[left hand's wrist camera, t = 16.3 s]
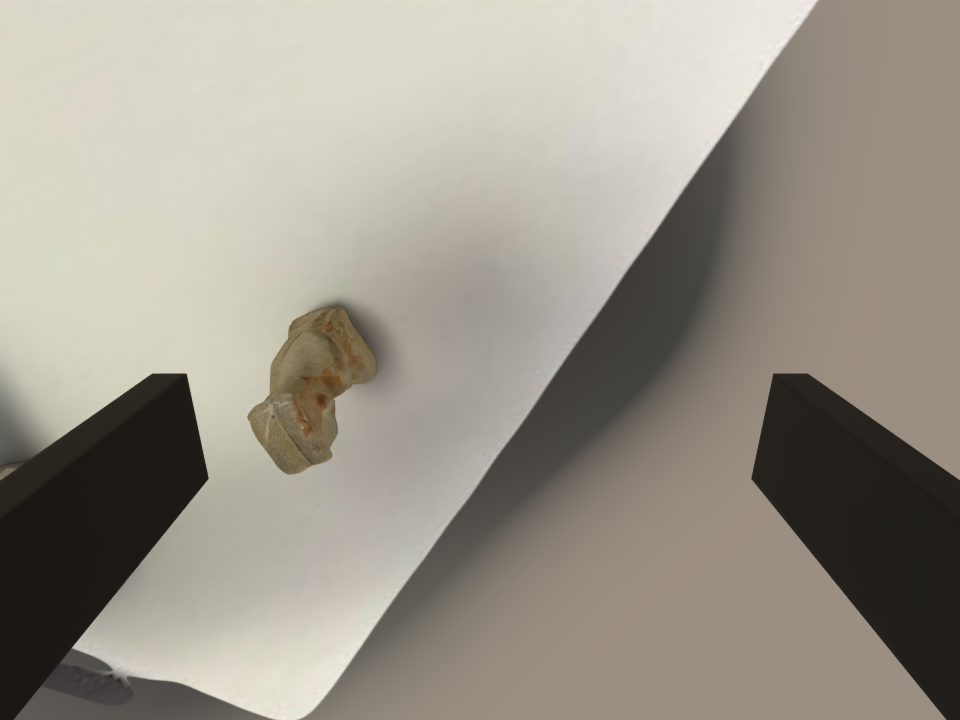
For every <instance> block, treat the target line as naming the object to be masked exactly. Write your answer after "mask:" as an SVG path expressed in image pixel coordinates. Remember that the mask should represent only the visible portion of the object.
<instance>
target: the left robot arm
mask: <svg viewBox="0 0 960 720" xmlns="http://www.w3.org/2000/svg"><path fill="white" fill-rule="evenodd" d="M208 479H209V478H208V473H207V468H206V464H205V459H204V454H203V449H202V445H201V440H200V435H199V430H198V426H197V421H196V416H195V411H194V407H193V402H192V397H191V392H190V388H189V383H188V378H187V374H151V375H150V376H148V377H147V378H145V379H144V380H143V381H141V382H140V383H138V384H137V385H135V386H134V387H133V388H131V389H130V390H128V391H127V392H125V393H124V394H123V395H121V396H120V397H118V398H117V399H115V400H114V401H113V402H111V403H110V404H108V405H107V406H105V407H104V408H103V409H101V410H100V411H98V412H97V413H95V414H94V415H93V416H91V417H90V418H88V419H87V420H86V421H84V422H83V423H81V424H80V425H78V426H77V427H76V428H74V429H73V430H71V431H70V432H68V433H67V434H66V435H64V436H63V437H61V438H60V439H58V440H57V441H56V442H54V443H53V444H51V445H50V446H48V447H47V448H46V449H44V450H43V451H41V452H40V453H39V454H37V455H36V456H34V457H33V458H31V459H30V460H29V461H27V462H18V463H12V464H8V465H5V466H2V467H0V720H14V718H15V717H16V716H17V715H18V714H19V712H20V711H21V710H22V709H23V707H24V706H25V705H26V704H27V702H28V701H29V700H30V699H31V698H32V696H33V695H34V694H35V693H36V691H37V690H38V689H39V688H40V686H41V685H42V684H43V683H44V681H45V680H46V679H47V678H48V677H49V675H50V674H51V673H52V672H53V670H54V669H55V668H56V667H57V665H58V664H59V663H60V662H61V660H62V659H63V658H64V657H65V656H66V654H67V653H68V652H69V651H70V649H71V648H72V647H73V646H74V644H75V643H76V642H77V641H78V639H79V638H80V637H81V636H82V635H83V633H84V632H85V631H86V630H87V628H88V627H89V626H90V625H91V623H92V622H93V621H94V620H95V618H96V617H97V616H98V615H99V614H100V612H101V611H102V610H103V609H104V607H105V606H106V605H107V604H108V602H109V601H110V600H111V599H112V597H113V596H114V595H115V594H116V593H117V591H118V590H119V589H120V588H121V586H122V585H123V584H124V583H125V581H126V580H127V579H128V578H129V576H130V575H131V574H132V573H133V572H134V570H135V569H136V568H137V567H138V565H139V564H140V563H141V562H142V560H143V559H144V558H145V557H146V555H147V554H148V553H149V552H150V551H151V549H152V548H153V547H154V546H155V544H156V543H157V542H158V541H159V539H160V538H161V537H162V536H163V534H164V533H165V532H166V531H167V530H168V528H169V527H170V526H171V525H172V523H173V522H174V521H175V520H176V518H177V517H178V516H179V515H180V514H181V512H182V511H183V510H184V509H185V507H186V506H187V505H188V504H189V502H190V501H191V500H192V499H193V497H194V496H195V495H196V494H197V493H198V491H199V490H200V489H201V488H202V486H203V485H204V484H205V483H206V481H207V480H208ZM751 479H752V480H753V481H754V483H755V484H756V485H757V486H758V488H759V489H760V490H761V491H762V492H763V494H764V495H765V496H766V497H767V499H768V500H769V501H770V502H771V503H772V505H773V506H774V507H775V509H776V510H777V511H778V512H779V514H780V515H781V516H782V517H783V518H784V520H785V521H786V522H787V523H788V525H789V526H790V527H791V528H792V530H793V531H794V532H795V533H796V534H797V536H798V537H799V538H800V539H801V541H802V542H803V543H804V544H805V546H806V547H807V548H808V549H809V551H810V552H811V553H812V554H813V555H814V557H815V558H816V559H817V560H818V562H819V563H820V564H821V565H822V567H823V568H824V569H825V570H826V572H827V573H828V574H829V575H830V576H831V578H832V579H833V580H834V581H835V583H836V584H837V585H838V586H839V588H840V589H841V590H842V591H843V593H844V594H845V595H846V596H847V597H848V599H849V600H850V601H851V602H852V604H853V605H854V606H855V607H856V609H857V610H858V611H859V612H860V614H861V615H862V616H863V617H864V618H865V620H866V621H867V622H868V623H869V625H870V626H871V627H872V628H873V630H874V631H875V632H876V633H877V634H878V636H879V637H880V638H881V639H882V641H883V642H884V643H885V644H886V646H887V647H888V648H889V649H890V651H891V652H892V653H893V654H894V655H895V657H896V658H897V659H898V660H899V662H900V663H901V664H902V665H903V667H904V668H905V669H906V670H907V672H908V673H909V674H910V675H911V677H912V678H913V679H914V680H915V681H916V683H917V684H918V685H919V686H920V688H921V689H922V690H923V691H924V692H925V694H926V695H927V696H928V697H929V699H930V700H931V701H932V702H933V704H934V705H935V706H936V707H937V709H938V710H939V711H940V712H941V714H942V715H943V716H944V717H945V719H946V720H960V480H958V479H957V478H956V477H954V476H953V475H951V474H950V473H949V472H947V471H946V470H944V469H943V468H941V467H940V466H939V465H937V464H936V463H934V462H933V461H931V460H930V459H929V458H927V457H926V456H924V455H923V454H921V453H920V452H919V451H917V450H916V449H914V448H913V447H912V446H910V445H909V444H907V443H906V442H904V441H903V440H902V439H900V438H899V437H897V436H896V435H894V434H893V433H892V432H890V431H889V430H887V429H886V428H884V427H883V426H882V425H880V424H879V423H877V422H876V421H874V420H873V419H872V418H870V417H869V416H867V415H866V414H865V413H863V412H862V411H860V410H859V409H857V408H856V407H855V406H853V405H852V404H850V403H849V402H847V401H846V400H845V399H843V398H842V397H840V396H839V395H837V394H836V393H835V392H833V391H832V390H830V389H829V388H827V387H826V386H825V385H823V384H822V383H820V382H819V381H817V380H816V379H815V378H813V377H812V376H810V375H809V374H773V378H772V383H771V388H770V392H769V397H768V402H767V407H766V411H765V416H764V421H763V426H762V430H761V435H760V440H759V445H758V449H757V454H756V459H755V464H754V468H753V473H752V478H751Z"/></svg>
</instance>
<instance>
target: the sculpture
mask: <svg viewBox="0 0 960 720" xmlns="http://www.w3.org/2000/svg"><path fill="white" fill-rule="evenodd" d="M376 372H377V366H376V361H375V358H374V356H373V354H372V352H371V350H370V349H369V347H368V346H367V344H366V343H365V341H364V340H363V339H362V337H361V336H360V334H359V333H358V332H357V331H356V329H355V328H354V327H353V325H352V324H351V322H350V320H349V318H348V314H347V312H346V311H345V310H344V309H343V308H342V307H336V308H329V307H325V308H321V309H318V310H315V311H312V312H310V313H307V314H305V315H303V316H301V317H299V318H297V319H295V320H294V321H293V322H292V324H291V325H290V327H289V332H288V340H287V341H286V342H285V343H284V345H283V346H282V348H281V349H280V351H279V352H278V354H277V355H276V357H275V359H274V360H273V362H272V364H271V370H270V395H269V396H268V397H267V398H266V400H265V401H264V402H262V403H260V404H258V405H256V406H255V407H254V408H253V409H252V410H251V411H250V413H249V414H248V420H249V421H250V424H251V428H252V430H253V432H254V434H255V436H256V438H257V439H258V441H259V442H260V444H261V445H262V446H263V448H264V449H265V450H266V451H267V453H268V454H269V455H270V457H271V458H272V460H273V461H274V462H275V464H276V465H277V467H278V468H279V469H280V470H282V471H283V472H284V473H286V474H289V475H290V474H297V473H300V472H302V471H304V470H305V469H307V468H308V467H310V466H312V465H316V464H320V463H323V462H327V461H328V460H330V459H331V458H332V453H331V450H330V447H331V445H332V443H333V441H334V440H335V438H336V436H337V434H338V427H337V422H336V418H335V400H334V399H333V398H335V397H337V396H339V395H341V394H342V393H343V392H345V391H346V390H347V389H349V388H350V387H351V386H352V384H364V383H367V382H369V381H371V380H372V379H373V378H374V377H375V375H376Z"/></svg>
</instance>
